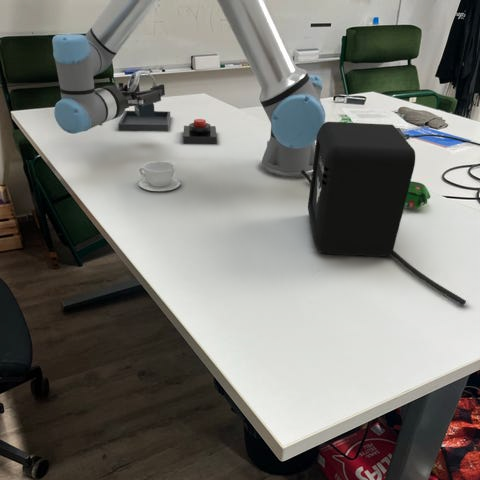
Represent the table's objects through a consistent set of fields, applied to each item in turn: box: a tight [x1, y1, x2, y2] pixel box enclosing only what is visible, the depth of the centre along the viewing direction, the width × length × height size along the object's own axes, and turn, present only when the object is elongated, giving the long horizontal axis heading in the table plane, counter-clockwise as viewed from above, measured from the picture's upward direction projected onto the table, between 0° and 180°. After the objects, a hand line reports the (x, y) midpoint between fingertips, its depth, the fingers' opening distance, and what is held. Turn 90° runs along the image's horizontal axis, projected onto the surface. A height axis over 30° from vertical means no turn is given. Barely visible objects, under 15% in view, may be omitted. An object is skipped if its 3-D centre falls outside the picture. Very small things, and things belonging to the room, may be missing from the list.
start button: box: [193, 118, 207, 127], centre depth 146 cm, size 4×4×2 cm
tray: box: [117, 110, 171, 132], centre depth 160 cm, size 18×16×2 cm
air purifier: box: [307, 121, 416, 258], centre depth 92 cm, size 20×15×20 cm
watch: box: [127, 70, 158, 117], centre depth 133 cm, size 6×8×11 cm
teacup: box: [138, 160, 181, 192], centre depth 115 cm, size 10×10×5 cm
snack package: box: [404, 180, 431, 210], centre depth 111 cm, size 7×16×5 cm, turn 68°
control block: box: [182, 122, 218, 145], centre depth 148 cm, size 12×10×4 cm
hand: (150, 88), depth 136 cm, fingers closed on watch, 7 cm apart
